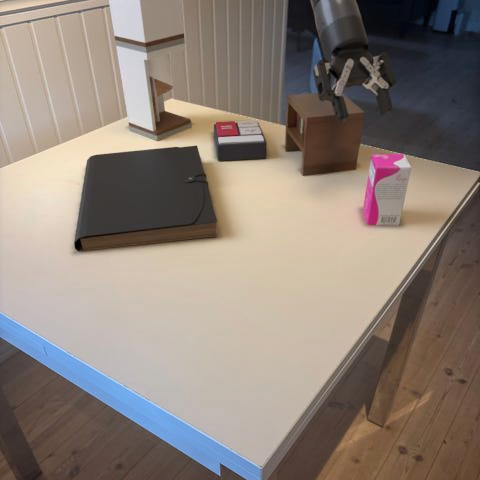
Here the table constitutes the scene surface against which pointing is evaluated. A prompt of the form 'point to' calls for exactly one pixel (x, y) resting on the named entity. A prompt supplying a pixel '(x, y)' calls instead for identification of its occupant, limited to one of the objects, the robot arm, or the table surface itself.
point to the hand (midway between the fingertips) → (365, 116)
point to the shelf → (323, 134)
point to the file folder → (144, 199)
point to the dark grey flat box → (239, 140)
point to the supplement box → (386, 189)
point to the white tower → (148, 62)
